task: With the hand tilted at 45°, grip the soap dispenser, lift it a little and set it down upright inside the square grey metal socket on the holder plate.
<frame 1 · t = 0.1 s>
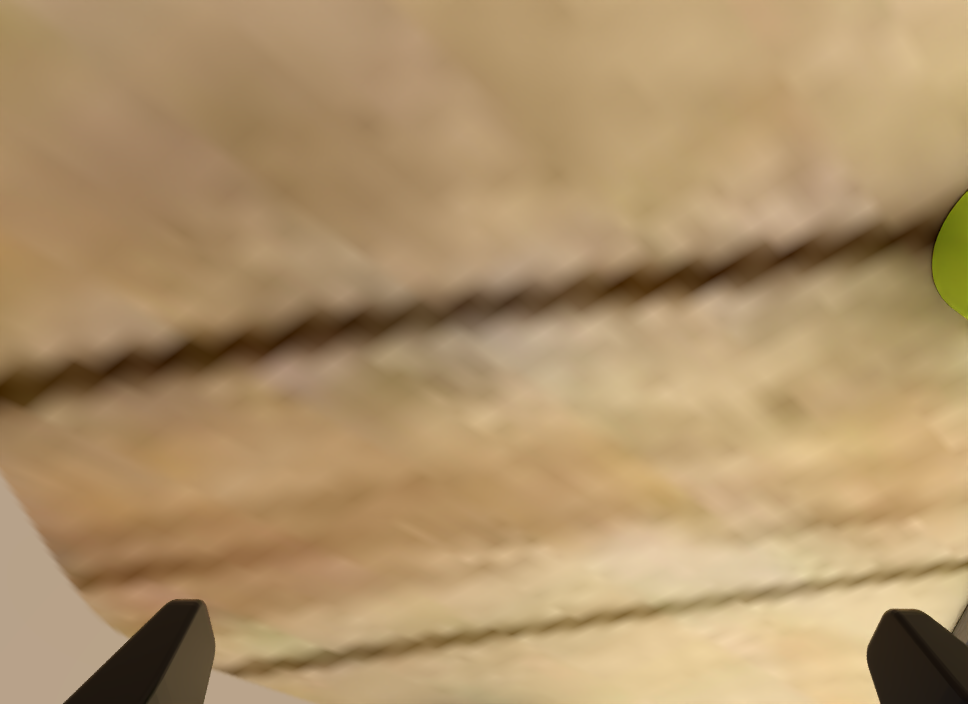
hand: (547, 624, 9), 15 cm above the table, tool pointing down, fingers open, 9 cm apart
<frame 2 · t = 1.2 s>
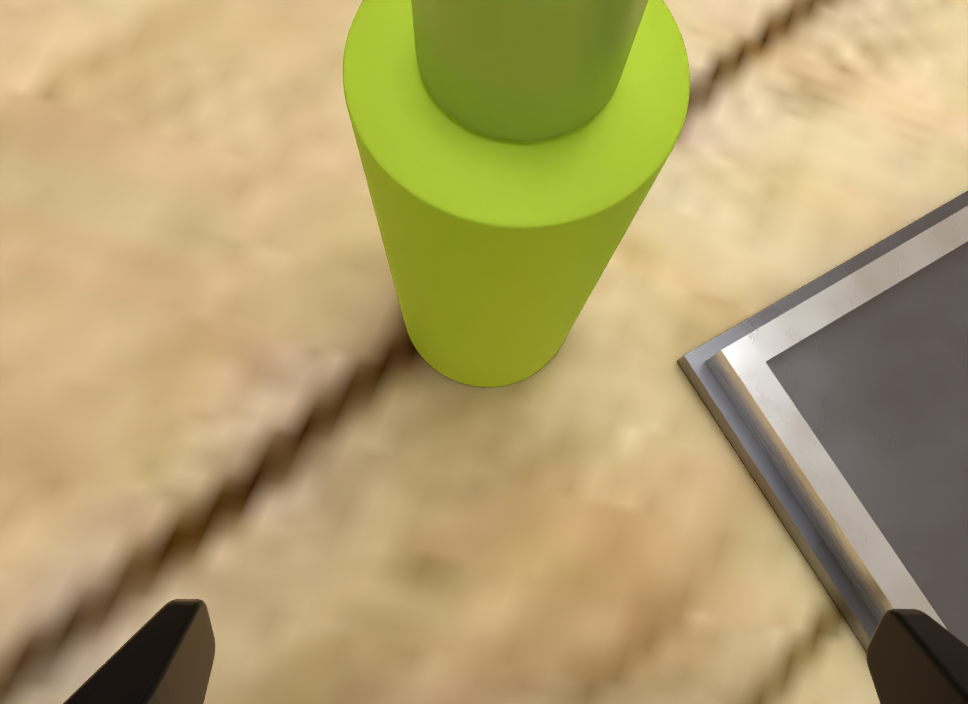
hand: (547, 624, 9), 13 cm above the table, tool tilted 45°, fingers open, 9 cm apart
soap dispenser: (498, 315, 25), on the table
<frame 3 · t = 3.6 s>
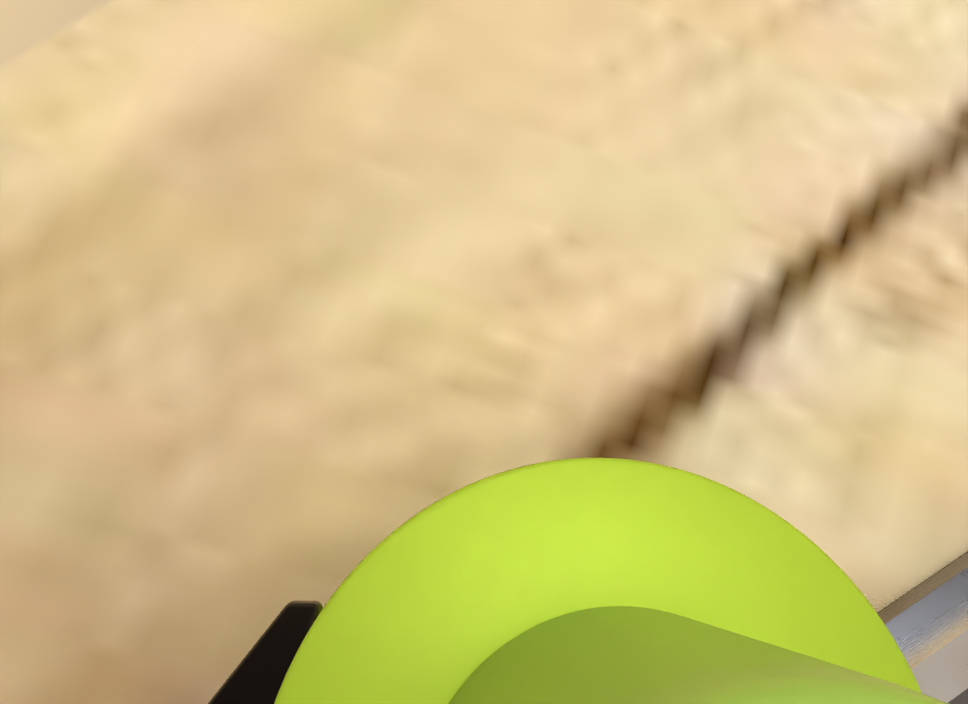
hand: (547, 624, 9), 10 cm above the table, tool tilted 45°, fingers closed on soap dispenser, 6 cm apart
soap dispenser: (505, 636, 18), on the table, touching gripper
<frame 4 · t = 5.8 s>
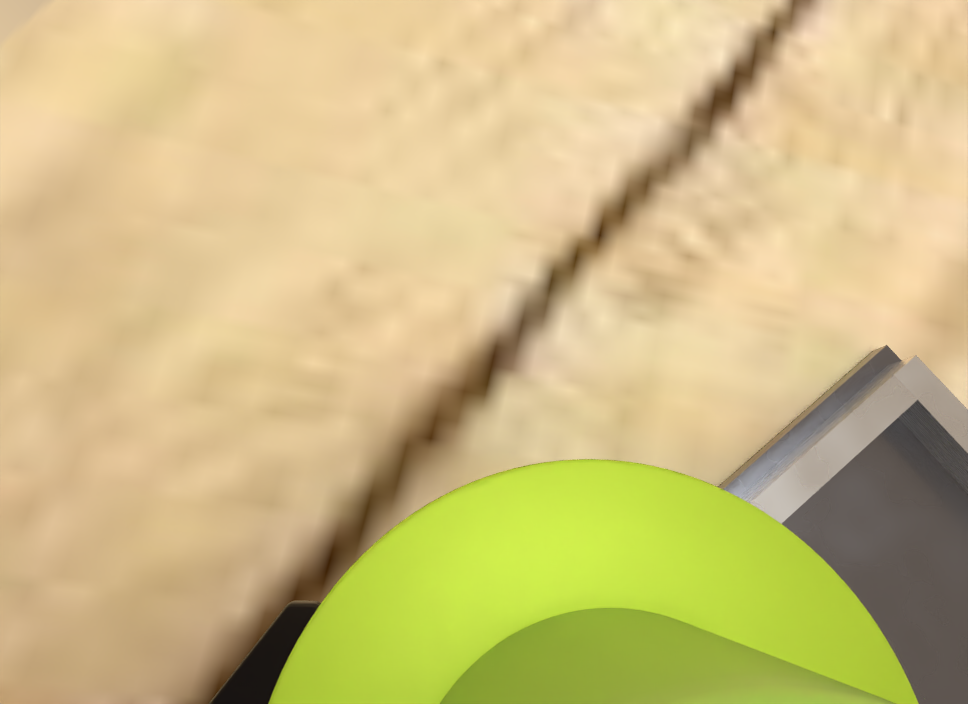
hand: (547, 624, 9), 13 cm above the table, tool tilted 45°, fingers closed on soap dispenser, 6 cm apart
holder: (880, 680, 22), on the table
soap dispenser: (509, 632, 19), point 3 cm above the table, touching gripper
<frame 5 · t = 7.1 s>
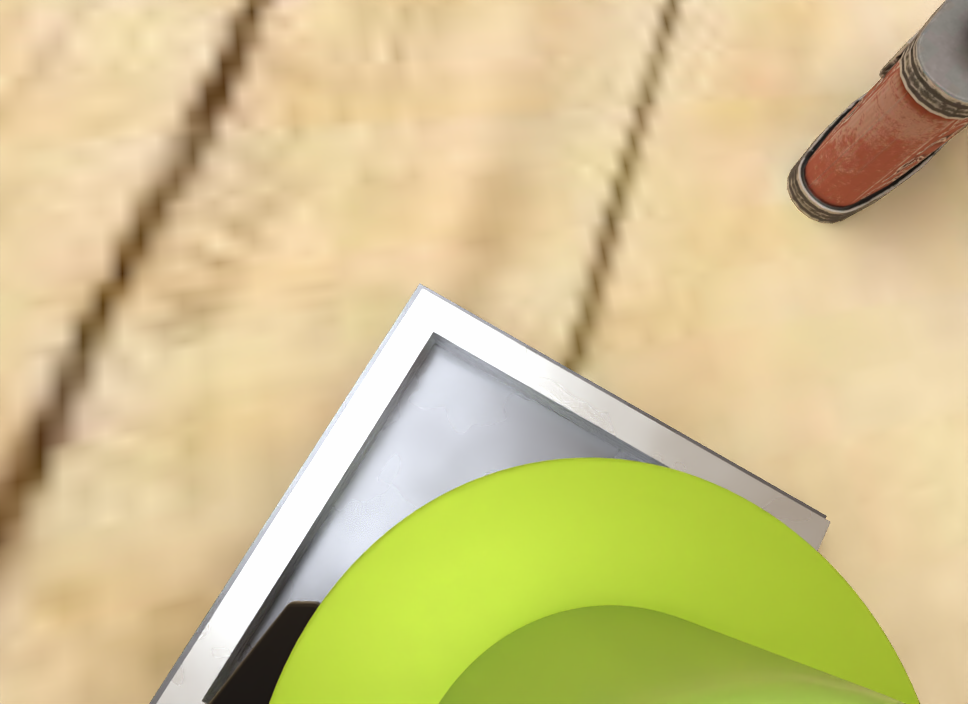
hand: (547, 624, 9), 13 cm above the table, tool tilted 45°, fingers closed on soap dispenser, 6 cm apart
holder: (500, 604, 22), on the table
lighter: (870, 150, 26), on the table
soap dispenser: (511, 631, 19), point 3 cm above the table, touching gripper
when the fingers open (11 cm above the table, at t = 8.2 s): soap dispenser stays where it is, resting on holder.
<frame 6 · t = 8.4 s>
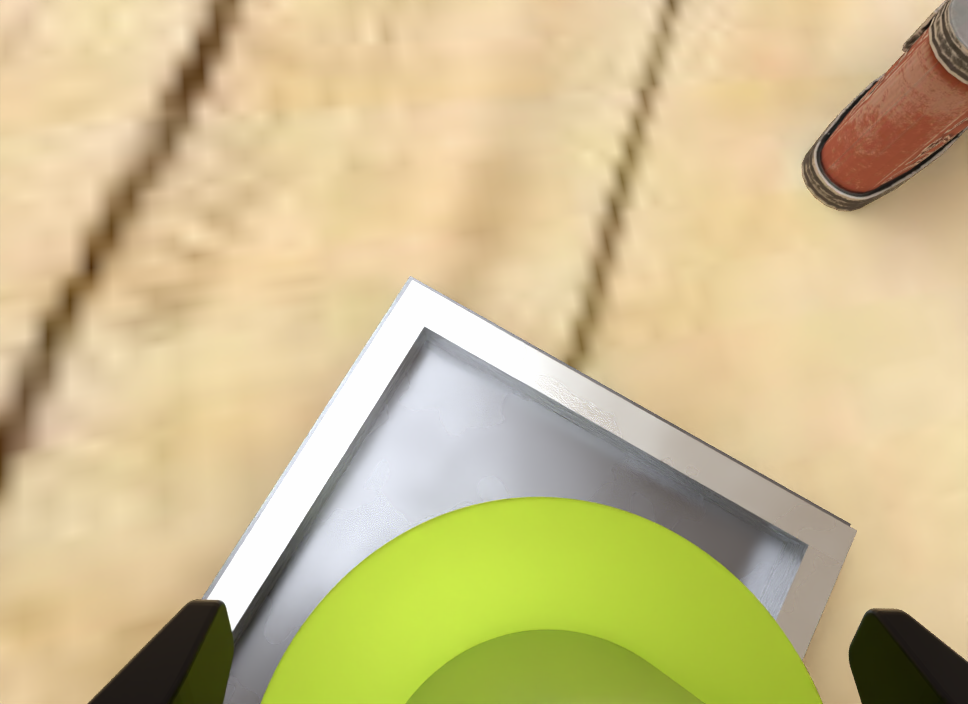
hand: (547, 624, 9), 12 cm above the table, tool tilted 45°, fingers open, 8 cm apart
holder: (498, 622, 20), on the table
lighter: (888, 134, 25), on the table
soap dispenser: (510, 638, 19), point 1 cm above the table, touching holder
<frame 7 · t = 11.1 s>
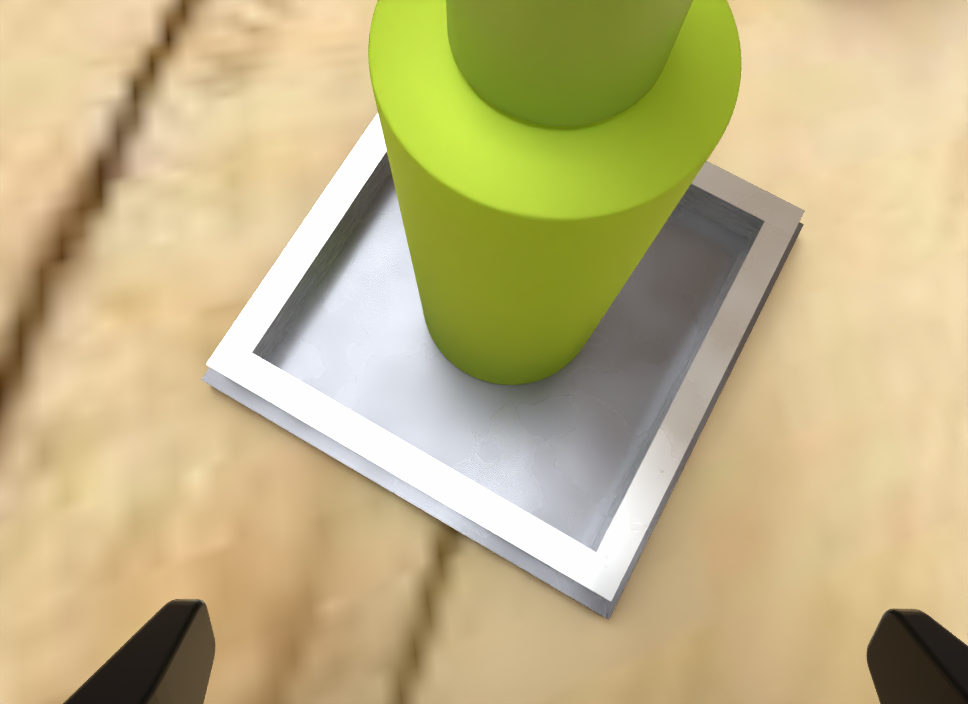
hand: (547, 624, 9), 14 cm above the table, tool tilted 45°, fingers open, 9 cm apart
holder: (511, 306, 24), on the table
soap dispenser: (521, 310, 24), point 1 cm above the table, touching holder
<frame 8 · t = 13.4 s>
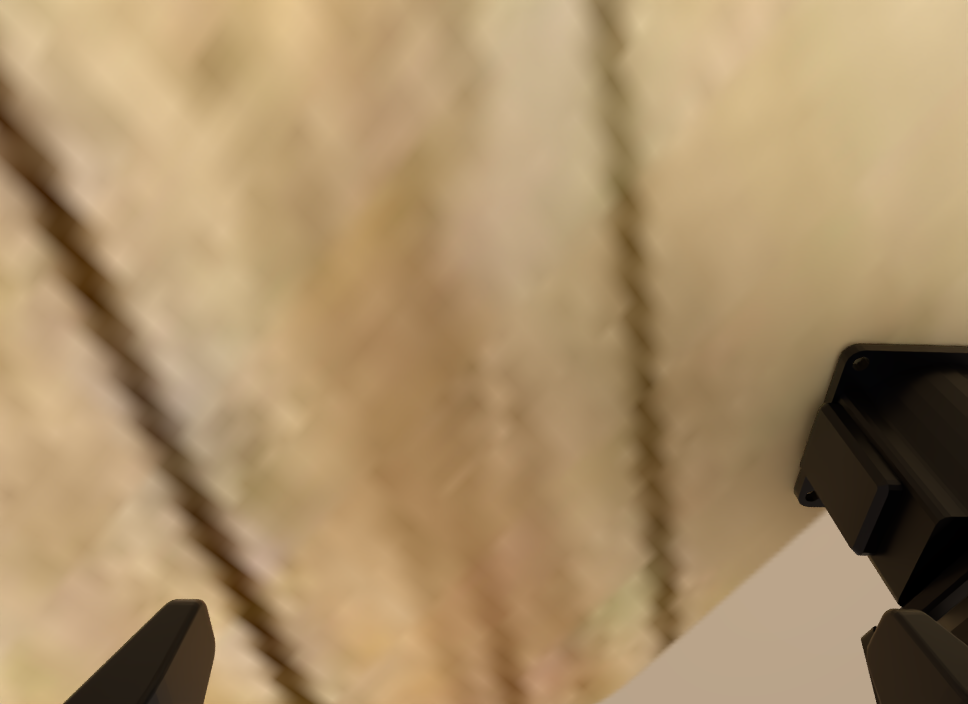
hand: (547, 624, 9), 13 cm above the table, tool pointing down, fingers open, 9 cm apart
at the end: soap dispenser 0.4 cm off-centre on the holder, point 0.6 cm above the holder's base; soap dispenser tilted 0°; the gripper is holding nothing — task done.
